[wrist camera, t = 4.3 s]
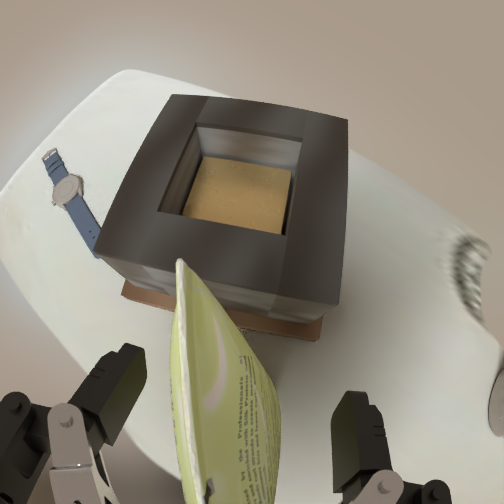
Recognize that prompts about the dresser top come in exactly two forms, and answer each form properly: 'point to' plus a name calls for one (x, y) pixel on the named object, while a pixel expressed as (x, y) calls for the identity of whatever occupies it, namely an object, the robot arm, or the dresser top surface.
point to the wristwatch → (71, 199)
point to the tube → (220, 403)
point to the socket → (229, 236)
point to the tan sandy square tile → (239, 194)
